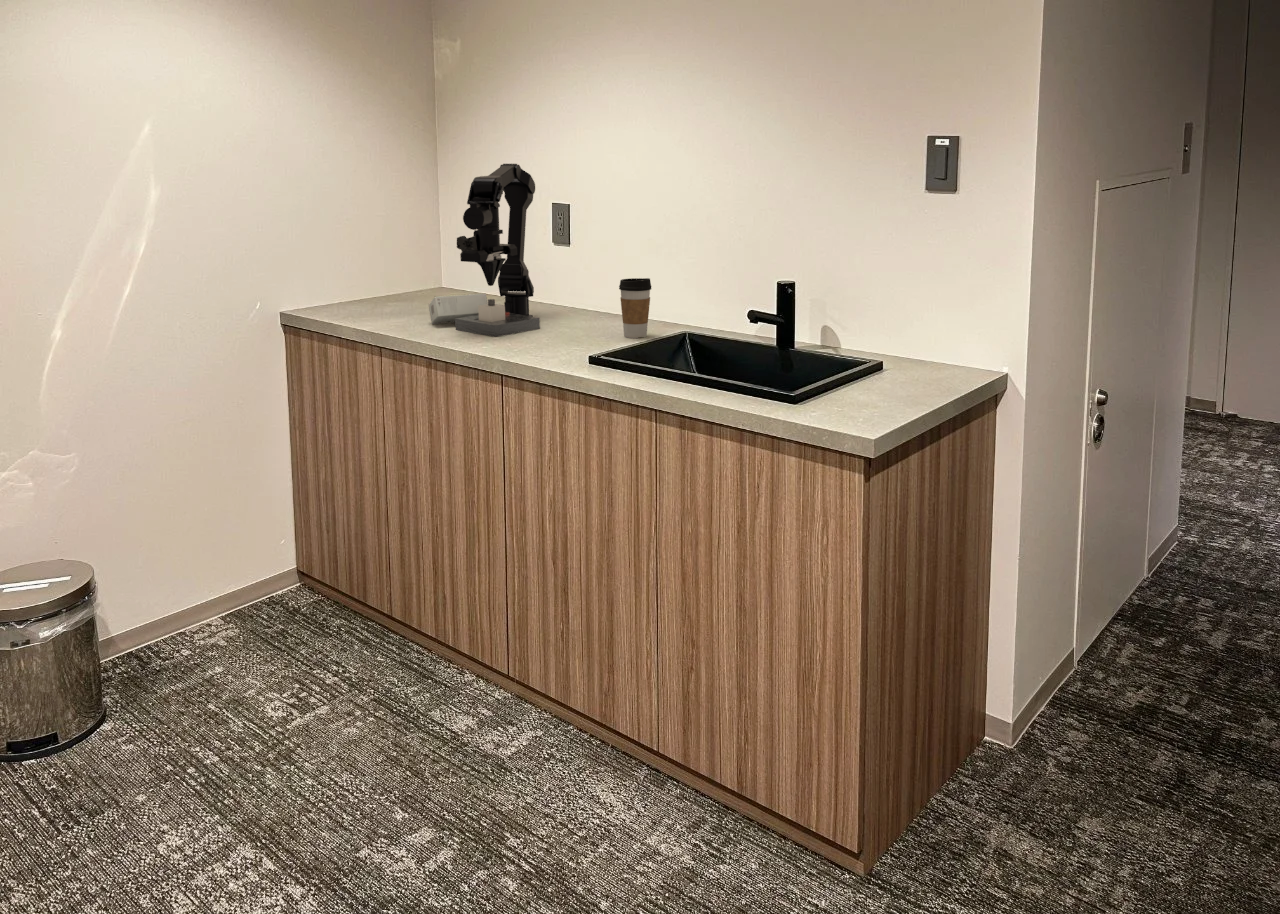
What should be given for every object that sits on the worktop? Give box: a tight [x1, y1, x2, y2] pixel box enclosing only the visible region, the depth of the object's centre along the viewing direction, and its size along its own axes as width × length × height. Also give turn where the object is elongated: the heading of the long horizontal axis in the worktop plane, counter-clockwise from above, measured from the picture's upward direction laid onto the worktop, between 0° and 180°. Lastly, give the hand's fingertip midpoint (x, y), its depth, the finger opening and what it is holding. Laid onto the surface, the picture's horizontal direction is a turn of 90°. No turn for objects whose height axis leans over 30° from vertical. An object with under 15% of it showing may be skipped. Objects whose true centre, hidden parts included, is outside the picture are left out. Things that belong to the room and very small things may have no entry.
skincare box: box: [428, 293, 488, 325], centre depth 321 cm, size 8×6×15 cm
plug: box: [478, 298, 505, 322], centre depth 311 cm, size 5×5×8 cm
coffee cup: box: [618, 277, 652, 339], centre depth 301 cm, size 8×8×15 cm
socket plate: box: [454, 312, 541, 338], centre depth 313 cm, size 16×16×4 cm
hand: (490, 285), depth 310 cm, fingers closed
